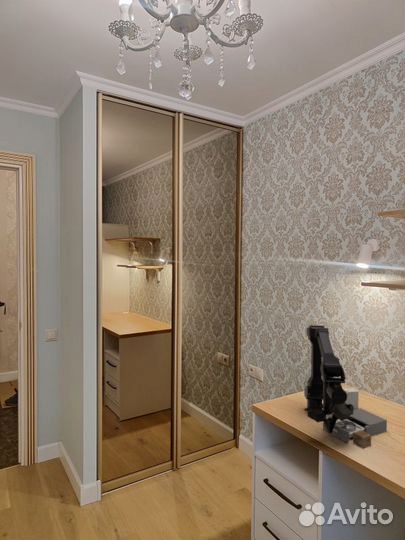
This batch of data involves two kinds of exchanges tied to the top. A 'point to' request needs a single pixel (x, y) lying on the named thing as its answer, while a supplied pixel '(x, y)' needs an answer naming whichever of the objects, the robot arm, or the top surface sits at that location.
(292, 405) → the top surface
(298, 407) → the top surface
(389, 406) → the top surface
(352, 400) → the skincare box
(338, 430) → the tray
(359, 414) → the housing
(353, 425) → the disc
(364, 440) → the walnut block
